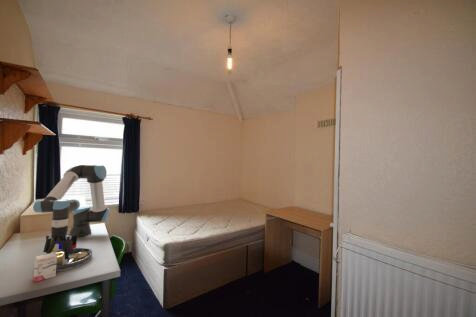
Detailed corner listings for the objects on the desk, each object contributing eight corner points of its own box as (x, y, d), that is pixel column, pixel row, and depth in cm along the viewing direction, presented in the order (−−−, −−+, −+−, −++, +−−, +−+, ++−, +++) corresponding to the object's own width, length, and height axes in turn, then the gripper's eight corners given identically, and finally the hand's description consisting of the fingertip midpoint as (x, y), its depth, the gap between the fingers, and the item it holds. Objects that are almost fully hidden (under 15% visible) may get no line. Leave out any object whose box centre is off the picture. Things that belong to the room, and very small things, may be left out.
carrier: (62, 252, 142) (63, 244, 142) (100, 253, 142) (101, 245, 142) (24, 271, 116) (25, 261, 116) (70, 273, 116) (71, 263, 116)
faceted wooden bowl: (56, 261, 126) (56, 251, 126) (69, 261, 126) (70, 252, 126) (44, 267, 118) (44, 257, 118) (58, 268, 118) (58, 257, 118)
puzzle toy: (62, 254, 139) (63, 239, 139) (49, 253, 140) (50, 238, 140) (76, 248, 149) (77, 234, 149) (64, 247, 150) (65, 233, 150)
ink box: (33, 282, 106) (35, 259, 107) (32, 279, 109) (34, 256, 110) (56, 276, 113) (57, 254, 113) (54, 273, 116) (56, 251, 116)
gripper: (36, 227, 119) (33, 266, 118) (72, 228, 119) (69, 268, 119) (48, 223, 127) (45, 260, 126) (82, 224, 127) (79, 261, 126)
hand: (57, 264), depth 122 cm, fingers closed on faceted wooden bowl, 8 cm apart
